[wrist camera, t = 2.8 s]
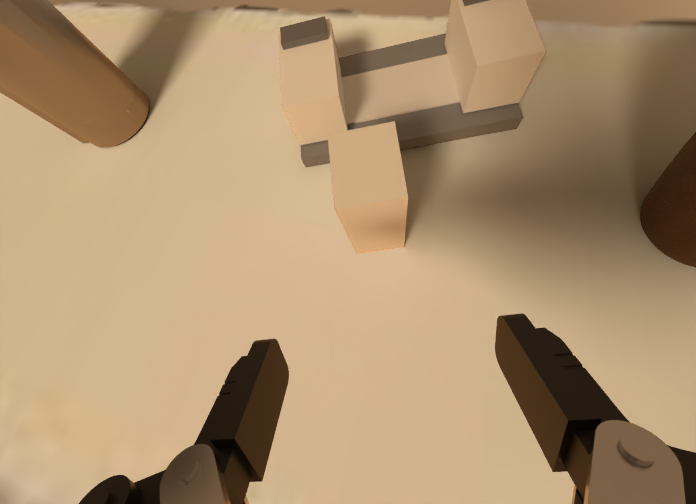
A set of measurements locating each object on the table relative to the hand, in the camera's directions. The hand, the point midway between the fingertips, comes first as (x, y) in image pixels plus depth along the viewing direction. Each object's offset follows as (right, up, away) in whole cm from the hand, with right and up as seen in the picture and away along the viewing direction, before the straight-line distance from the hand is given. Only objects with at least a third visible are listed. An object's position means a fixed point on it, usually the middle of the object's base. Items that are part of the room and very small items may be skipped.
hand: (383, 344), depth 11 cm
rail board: (+4, +19, +20) cm, 28 cm away
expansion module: (+1, +6, +17) cm, 18 cm away
